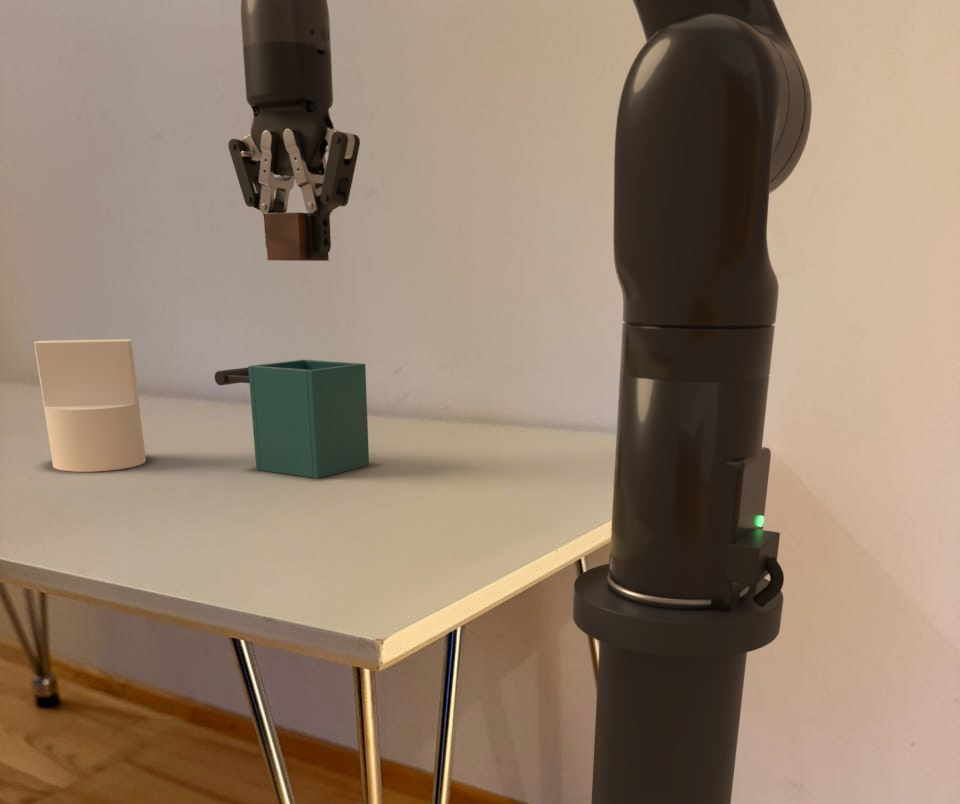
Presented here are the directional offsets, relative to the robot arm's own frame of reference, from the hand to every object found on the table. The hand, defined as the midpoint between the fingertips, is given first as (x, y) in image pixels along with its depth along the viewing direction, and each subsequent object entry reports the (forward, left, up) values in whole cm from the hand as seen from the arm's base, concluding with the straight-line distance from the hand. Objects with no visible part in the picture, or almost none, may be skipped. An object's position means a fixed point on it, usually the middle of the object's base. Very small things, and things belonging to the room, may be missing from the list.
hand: (298, 257), depth 91 cm
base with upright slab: (+20, +9, -20) cm, 30 cm away
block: (0, 0, 0) cm, 0 cm away
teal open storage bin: (-4, -1, -15) cm, 15 cm away
